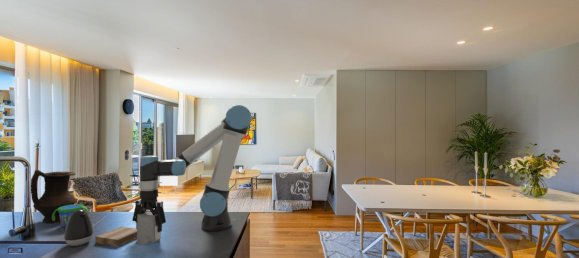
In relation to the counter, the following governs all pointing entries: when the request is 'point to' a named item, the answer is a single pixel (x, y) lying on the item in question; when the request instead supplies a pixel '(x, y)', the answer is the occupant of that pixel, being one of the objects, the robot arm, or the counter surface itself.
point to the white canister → (146, 228)
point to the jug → (52, 194)
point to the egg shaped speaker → (78, 228)
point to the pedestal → (117, 236)
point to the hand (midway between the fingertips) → (148, 237)
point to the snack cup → (67, 212)
